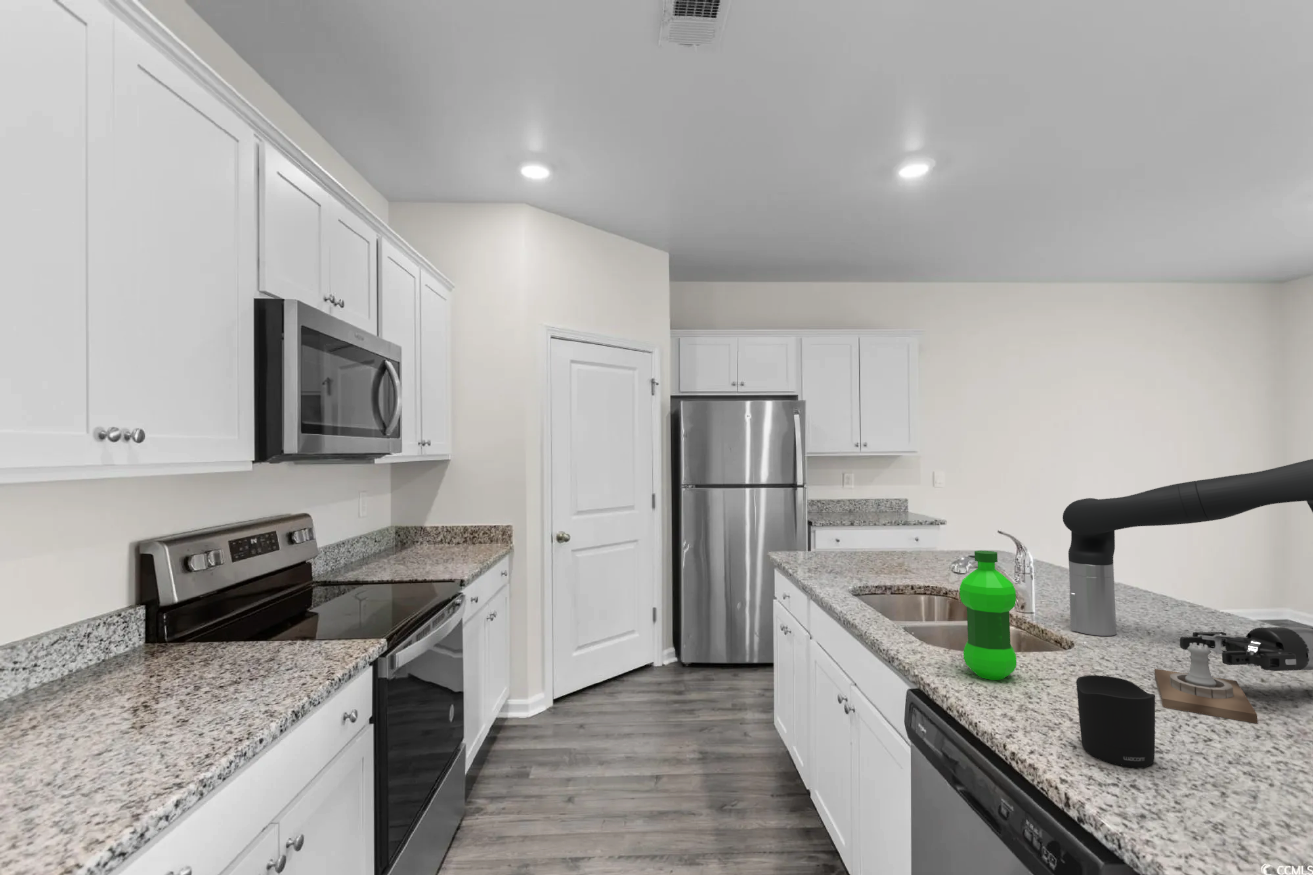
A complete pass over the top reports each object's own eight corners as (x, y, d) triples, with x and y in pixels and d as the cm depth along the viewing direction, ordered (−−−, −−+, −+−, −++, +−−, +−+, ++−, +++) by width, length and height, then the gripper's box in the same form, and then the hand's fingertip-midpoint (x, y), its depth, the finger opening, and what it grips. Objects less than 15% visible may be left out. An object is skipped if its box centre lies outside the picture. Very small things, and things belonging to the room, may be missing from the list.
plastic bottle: (955, 665, 129) (951, 548, 130) (1009, 668, 127) (1005, 548, 128) (969, 682, 119) (965, 555, 120) (1028, 686, 117) (1023, 556, 118)
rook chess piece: (1211, 686, 112) (1209, 642, 112) (1222, 695, 108) (1219, 649, 108) (1180, 683, 114) (1178, 639, 114) (1189, 691, 110) (1187, 646, 110)
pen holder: (1072, 754, 91) (1069, 687, 91) (1086, 733, 97) (1083, 670, 98) (1153, 777, 84) (1150, 704, 84) (1161, 753, 90) (1158, 685, 91)
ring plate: (1162, 707, 107) (1162, 689, 107) (1154, 676, 121) (1154, 661, 121) (1257, 723, 100) (1256, 705, 100) (1236, 688, 114) (1236, 672, 114)
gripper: (1249, 617, 118) (1167, 619, 118) (1331, 639, 104) (1238, 641, 104) (1251, 656, 118) (1169, 658, 118) (1334, 683, 104) (1241, 685, 103)
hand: (1202, 650), depth 111 cm, fingers open, 8 cm apart
